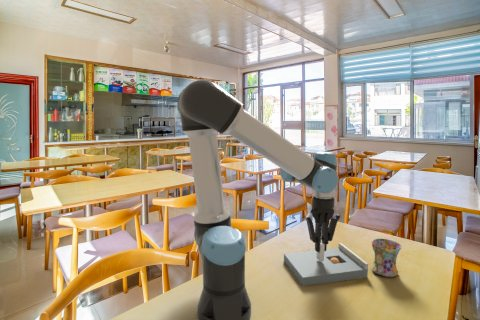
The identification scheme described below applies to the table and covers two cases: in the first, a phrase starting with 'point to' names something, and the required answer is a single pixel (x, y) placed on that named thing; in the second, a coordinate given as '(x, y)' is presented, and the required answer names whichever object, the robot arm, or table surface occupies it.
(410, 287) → the table surface
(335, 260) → the ball
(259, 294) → the table surface
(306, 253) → the board
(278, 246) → the table surface
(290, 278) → the table surface
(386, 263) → the mug
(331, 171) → the robot arm
